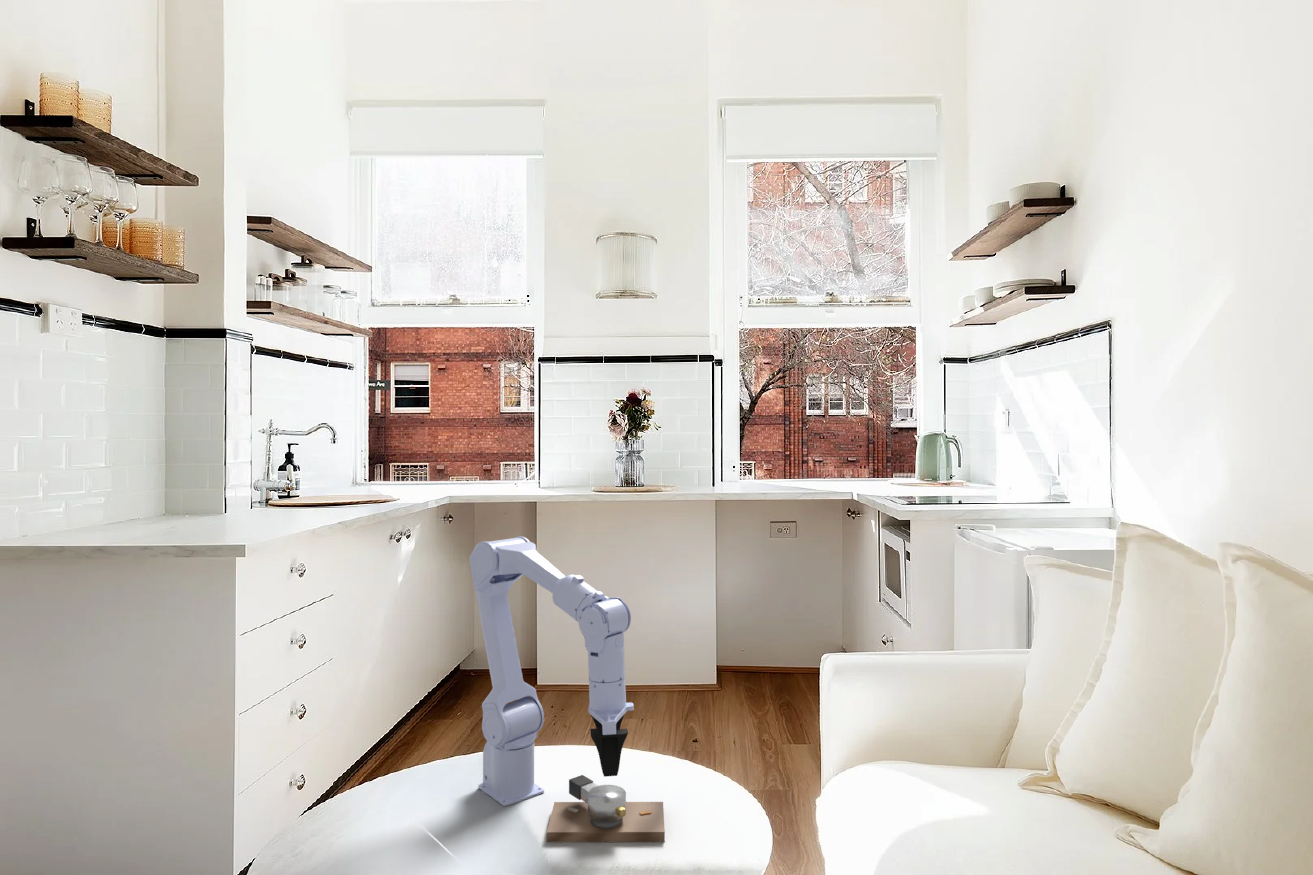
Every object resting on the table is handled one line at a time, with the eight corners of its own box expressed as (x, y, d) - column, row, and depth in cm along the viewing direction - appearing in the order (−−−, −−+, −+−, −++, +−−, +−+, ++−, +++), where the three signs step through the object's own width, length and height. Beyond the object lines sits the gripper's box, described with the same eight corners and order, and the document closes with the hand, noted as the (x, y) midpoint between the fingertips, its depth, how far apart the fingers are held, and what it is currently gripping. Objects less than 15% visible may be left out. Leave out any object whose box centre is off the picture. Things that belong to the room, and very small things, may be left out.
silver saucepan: (637, 816, 119) (638, 796, 119) (607, 828, 115) (607, 809, 115) (590, 787, 129) (590, 769, 129) (560, 798, 125) (560, 780, 125)
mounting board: (554, 810, 126) (554, 795, 126) (663, 810, 127) (663, 795, 127) (546, 841, 117) (547, 825, 117) (664, 841, 117) (664, 825, 117)
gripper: (635, 689, 113) (638, 782, 113) (630, 663, 127) (632, 746, 127) (587, 692, 112) (590, 786, 112) (587, 666, 127) (590, 748, 127)
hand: (609, 765), depth 120 cm, fingers open, 7 cm apart
